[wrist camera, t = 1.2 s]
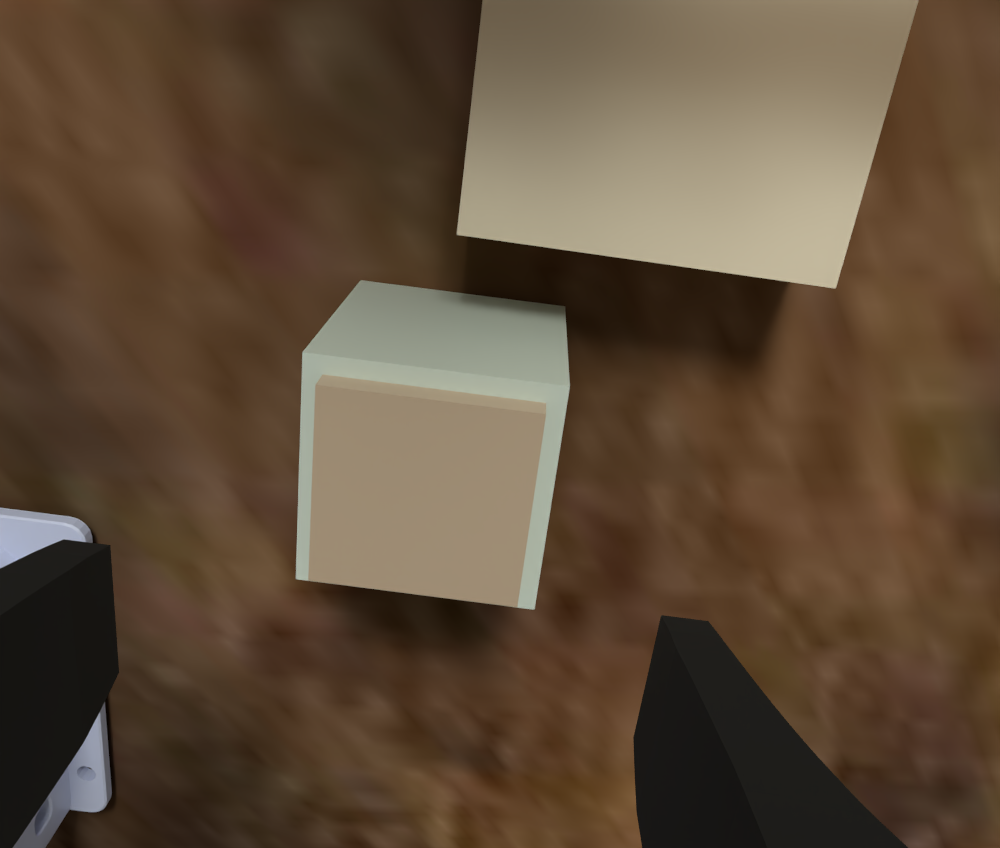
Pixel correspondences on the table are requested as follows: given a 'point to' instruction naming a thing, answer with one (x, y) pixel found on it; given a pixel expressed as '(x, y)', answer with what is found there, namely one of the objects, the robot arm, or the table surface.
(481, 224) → the base block
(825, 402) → the table surface
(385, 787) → the table surface
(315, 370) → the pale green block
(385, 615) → the table surface
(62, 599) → the robot arm
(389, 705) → the table surface
